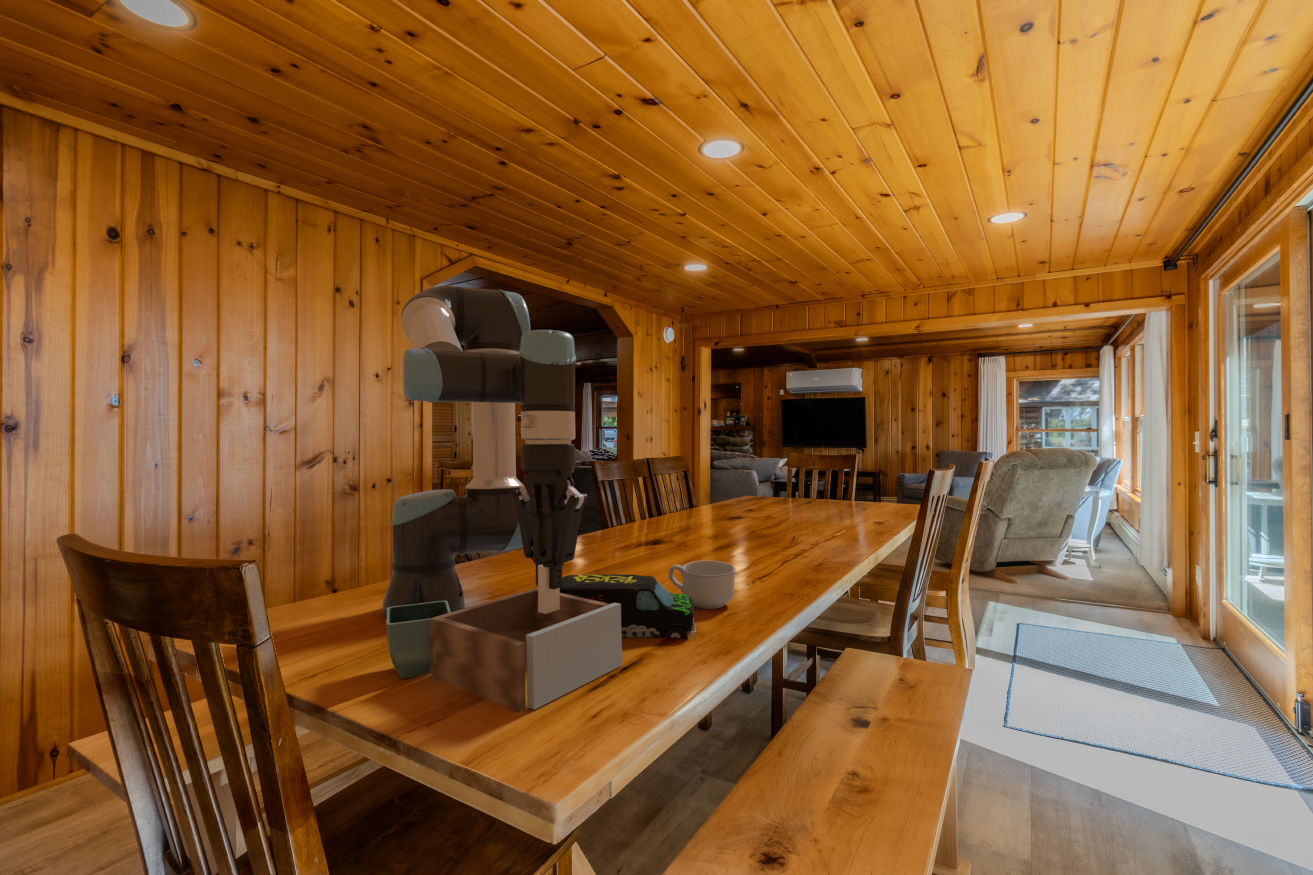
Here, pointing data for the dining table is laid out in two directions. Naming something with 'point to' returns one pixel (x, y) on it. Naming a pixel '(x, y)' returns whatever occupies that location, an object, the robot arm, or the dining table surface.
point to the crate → (495, 644)
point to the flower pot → (412, 636)
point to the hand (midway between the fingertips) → (549, 610)
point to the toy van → (637, 603)
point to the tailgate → (572, 654)
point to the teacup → (706, 582)
